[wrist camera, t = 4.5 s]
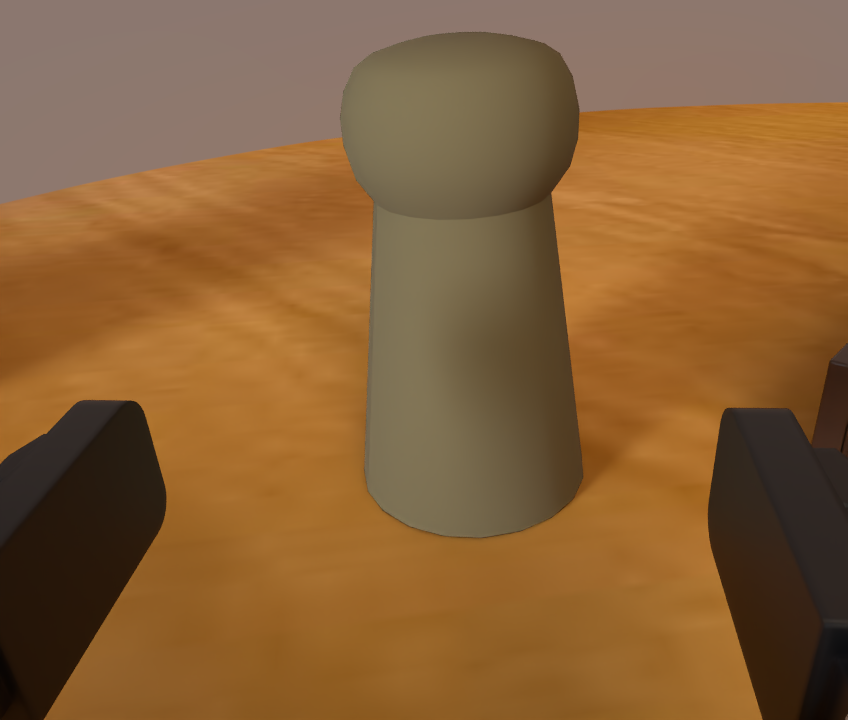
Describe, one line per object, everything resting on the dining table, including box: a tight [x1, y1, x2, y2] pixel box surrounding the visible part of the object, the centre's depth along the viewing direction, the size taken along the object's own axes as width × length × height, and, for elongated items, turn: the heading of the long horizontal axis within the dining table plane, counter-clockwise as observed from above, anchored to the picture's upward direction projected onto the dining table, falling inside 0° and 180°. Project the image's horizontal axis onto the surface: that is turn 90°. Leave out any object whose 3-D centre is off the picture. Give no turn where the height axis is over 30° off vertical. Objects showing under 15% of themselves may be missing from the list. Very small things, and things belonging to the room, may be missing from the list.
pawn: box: [340, 32, 583, 538], centre depth 19 cm, size 6×6×11 cm
